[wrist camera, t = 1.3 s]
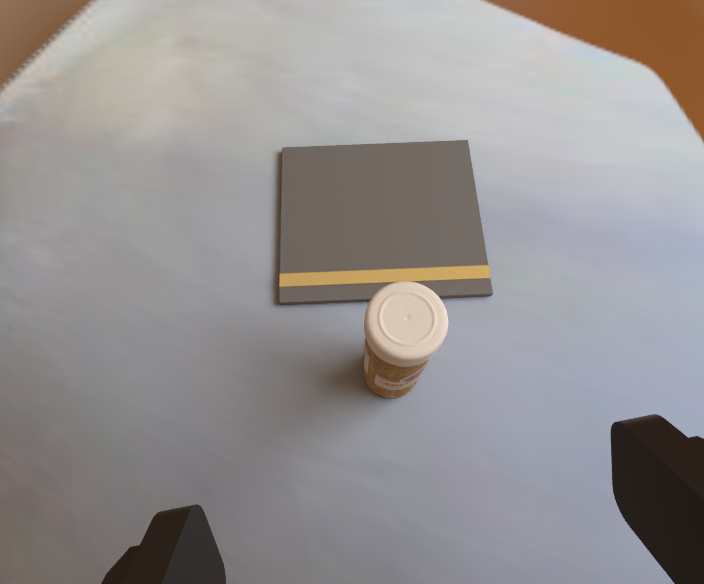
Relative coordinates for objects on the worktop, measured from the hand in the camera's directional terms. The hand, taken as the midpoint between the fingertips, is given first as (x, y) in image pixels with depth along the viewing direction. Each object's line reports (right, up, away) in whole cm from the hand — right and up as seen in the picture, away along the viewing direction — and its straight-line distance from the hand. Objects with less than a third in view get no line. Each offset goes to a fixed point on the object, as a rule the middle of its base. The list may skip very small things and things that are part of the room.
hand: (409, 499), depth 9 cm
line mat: (+1, +11, +33) cm, 35 cm away
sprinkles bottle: (+2, -2, +28) cm, 29 cm away
